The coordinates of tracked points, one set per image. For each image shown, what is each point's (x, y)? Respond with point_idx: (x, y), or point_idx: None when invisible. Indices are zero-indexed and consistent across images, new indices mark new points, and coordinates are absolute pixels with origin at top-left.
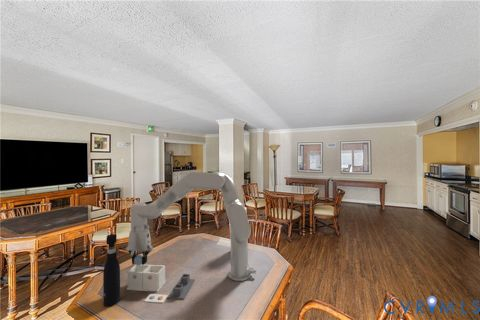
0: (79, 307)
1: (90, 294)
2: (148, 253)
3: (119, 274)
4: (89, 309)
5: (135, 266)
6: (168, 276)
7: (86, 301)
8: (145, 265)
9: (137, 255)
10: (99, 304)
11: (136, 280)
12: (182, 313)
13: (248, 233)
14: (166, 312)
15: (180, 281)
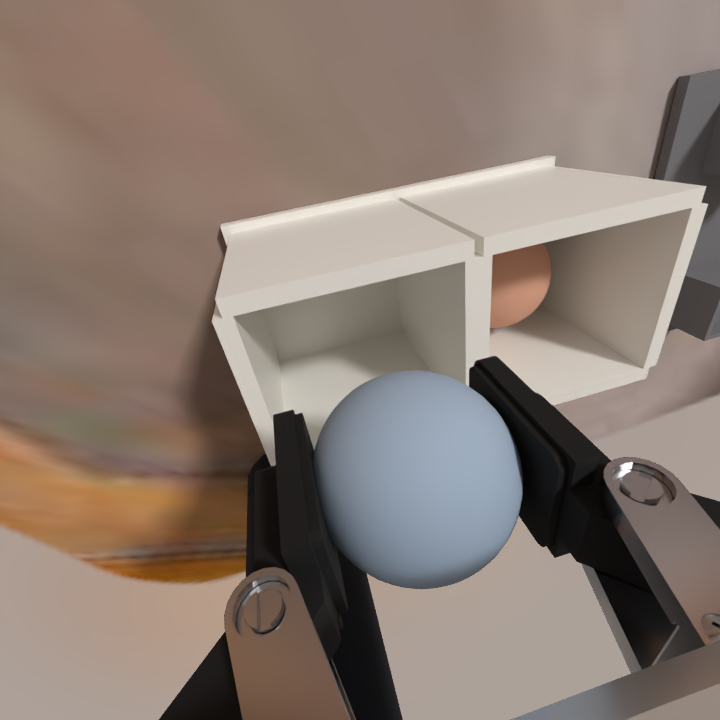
0: (154, 564)
1: (49, 502)
2: (714, 520)
3: (383, 655)
4: (231, 547)
5: (246, 347)
6: (538, 38)
7: (125, 535)
8: (392, 275)
9: (412, 581)
10: (242, 514)
11: None
12: (706, 390)
13: None
14: (633, 413)
15: (694, 131)
